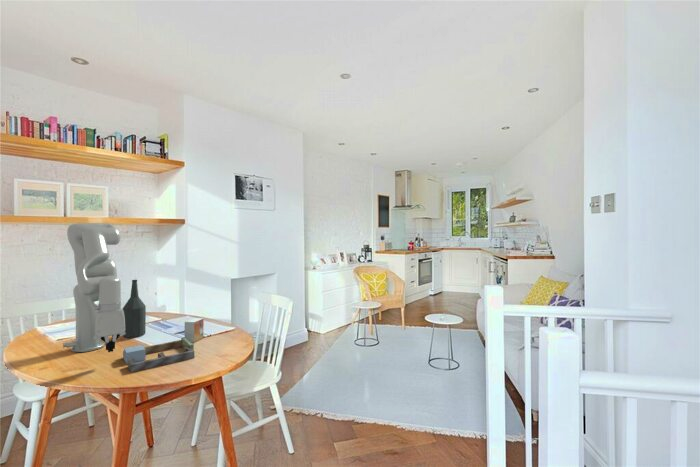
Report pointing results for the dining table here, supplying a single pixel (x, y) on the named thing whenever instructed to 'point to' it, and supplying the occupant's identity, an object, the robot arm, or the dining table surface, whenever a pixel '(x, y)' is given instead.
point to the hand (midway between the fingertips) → (110, 351)
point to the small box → (194, 329)
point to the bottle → (134, 314)
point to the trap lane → (161, 357)
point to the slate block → (135, 353)
